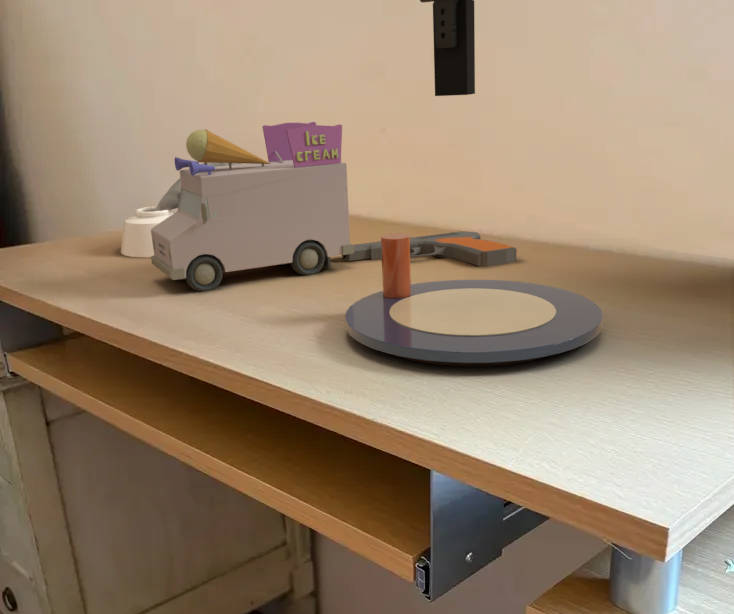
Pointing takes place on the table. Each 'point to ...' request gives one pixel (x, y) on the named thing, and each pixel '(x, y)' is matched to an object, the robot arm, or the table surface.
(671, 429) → the table surface
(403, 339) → the plate
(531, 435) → the table surface
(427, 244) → the handgun
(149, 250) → the inkwell
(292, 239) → the toy vehicle
